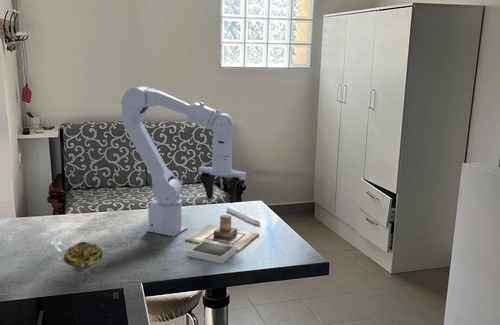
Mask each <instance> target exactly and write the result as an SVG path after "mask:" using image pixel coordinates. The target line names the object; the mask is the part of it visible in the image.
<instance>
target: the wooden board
mask: <svg viewBox="0 0 500 325" xmlns="http://www.w3.org/2000/svg"><path fill="white" fill-rule="evenodd" d="M219 227H220V225H213V224H207V225H205V226H204V227H202V228H200V229H199V230H197V231H195V232H194V233H193V234H191V235H189V236H188V237H186V238H185V239H184V242H189V243H193V244H197V245H198V244H199V243H201V242H202V241H207V242H212V243H217V244H222V245H227V246H232V247H236V252H241V251H242V250H243V249H244V248H246V247H247V246H248V245H250V243H252V242H253V241H254V240H256V239H257V237H259V236H260V234H259V233H257V232H252V231H247V230H241V229H240V230H239V229H237V236H236V237H234V238H233V239H232V240H230V241H226V240H221V239H215V238H214V230H216V229H217V228H219Z"/></svg>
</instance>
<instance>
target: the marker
mask: <svg viewBox="0 0 500 325" xmlns="http://www.w3.org/2000/svg"><path fill="white" fill-rule="evenodd" d="M226 211H228V213H229V212H230V213H229V214H231V213H232V214H231V215H233V214H234V216H235V215H236V217H237V216H238V218H240V219H242V220H243V221H246V222H248V223H250V224H252V225H254V226H261V221H260V220H259V219H258V218H256V217H254V216H252V215H250V214H248V213H245V212H244V211H242V210H239V209H237V208H235V207H233V206H231V205H230V206H227V208H226Z"/></svg>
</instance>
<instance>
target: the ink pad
mask: <svg viewBox="0 0 500 325" xmlns="http://www.w3.org/2000/svg"><path fill="white" fill-rule="evenodd" d="M236 252H237V251H236V247H232V246H227V245H222V244H217V243H212V242H207V241H202V242H201V243H199V244H198V243H197V244H196V245H195V246H194V247H192V248H191V249H189V250H188V257H189V258H194V259H200V260H204V261H209V262H213V263H218V264H224V263H225V262H226V261H228V259H230V258H231V257H232V256H234V255H235V254H236Z"/></svg>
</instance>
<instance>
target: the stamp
mask: <svg viewBox="0 0 500 325" xmlns="http://www.w3.org/2000/svg"><path fill="white" fill-rule="evenodd" d="M219 226H220V227H219V228H217V229H216V230H214V238H215V239H221V240H226V241H230V240H232V239H233V238H234V237H236V236H237V230H238V229H237V228H236V227H232V216H231V214H222V215H220V216H219Z"/></svg>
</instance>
